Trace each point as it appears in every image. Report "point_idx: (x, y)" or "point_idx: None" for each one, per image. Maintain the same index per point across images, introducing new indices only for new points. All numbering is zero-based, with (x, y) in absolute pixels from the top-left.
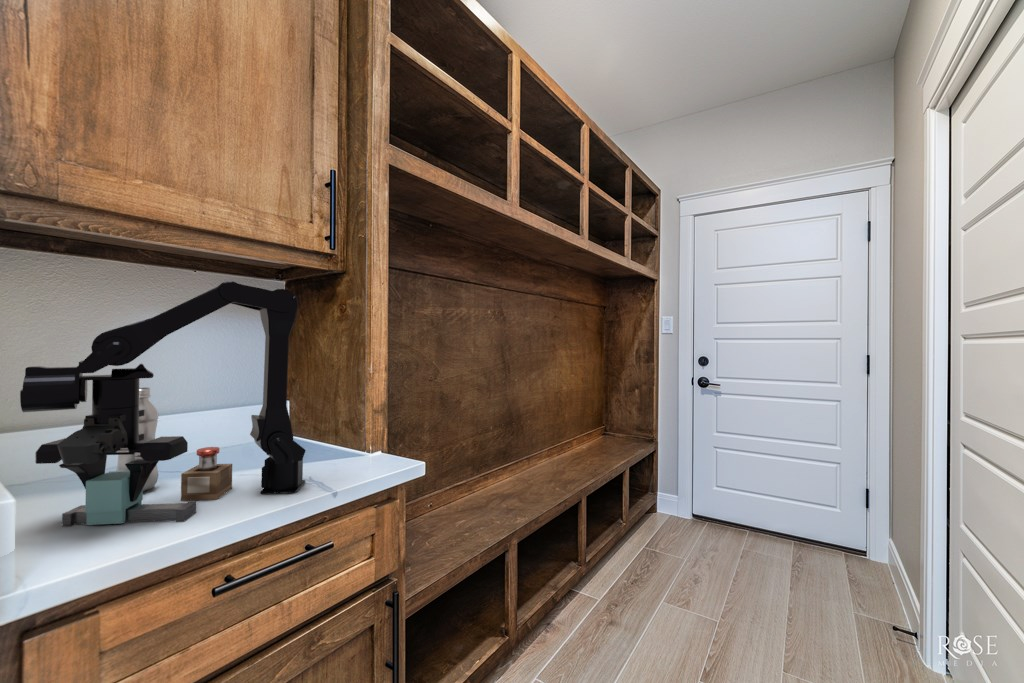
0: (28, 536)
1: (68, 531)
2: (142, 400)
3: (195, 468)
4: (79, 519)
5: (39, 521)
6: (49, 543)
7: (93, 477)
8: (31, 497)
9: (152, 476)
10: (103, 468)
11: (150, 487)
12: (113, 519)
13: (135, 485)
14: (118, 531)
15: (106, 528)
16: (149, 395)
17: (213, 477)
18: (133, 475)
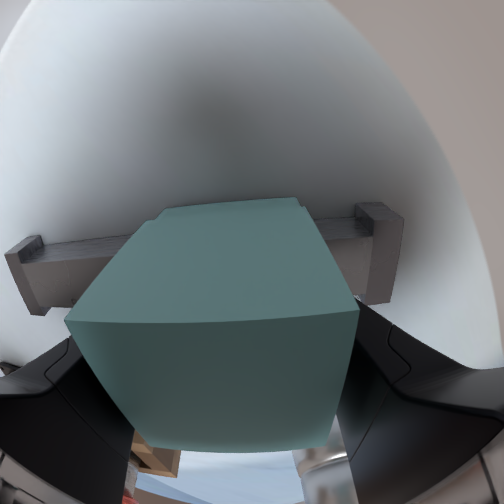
0: (424, 132)
1: (329, 157)
2: None
3: (152, 463)
4: (343, 226)
5: (458, 250)
6: (308, 54)
7: (360, 384)
8: (495, 358)
9: (294, 452)
10: (351, 456)
11: None
12: (192, 211)
13: None
14: (136, 154)
15: (203, 179)
16: None
17: None
18: (46, 368)
